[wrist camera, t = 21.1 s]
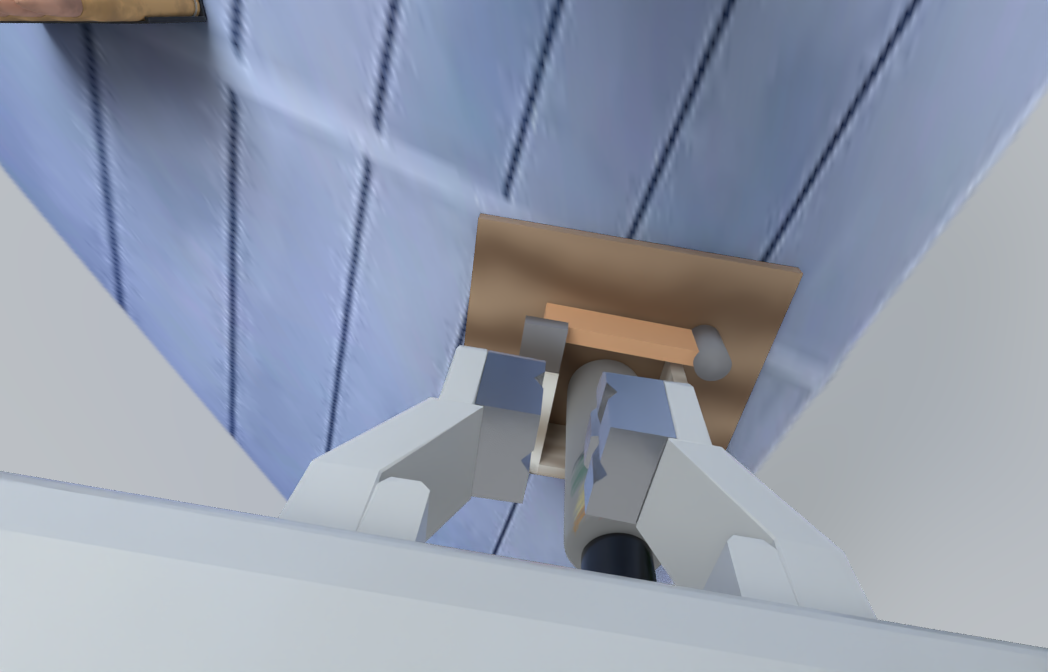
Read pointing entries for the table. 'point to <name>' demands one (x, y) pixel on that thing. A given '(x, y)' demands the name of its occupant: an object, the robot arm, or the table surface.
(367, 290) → the table surface
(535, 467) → the cradle
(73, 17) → the ammunition clip
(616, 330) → the arm
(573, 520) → the lotion bottle
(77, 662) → the robot arm
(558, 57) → the table surface
